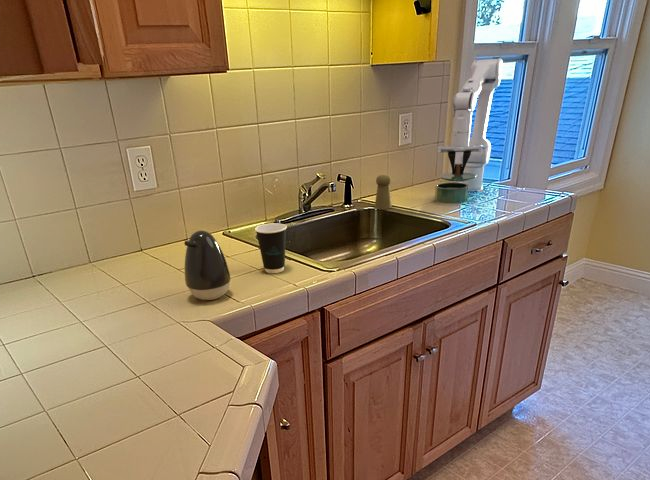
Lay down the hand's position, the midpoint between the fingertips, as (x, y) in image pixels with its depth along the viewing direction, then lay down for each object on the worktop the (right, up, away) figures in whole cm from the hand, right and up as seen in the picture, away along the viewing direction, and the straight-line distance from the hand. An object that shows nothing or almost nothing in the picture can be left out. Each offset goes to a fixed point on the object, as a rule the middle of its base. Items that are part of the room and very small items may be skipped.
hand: (457, 174), depth 176 cm
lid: (0, -1, +1) cm, 1 cm away
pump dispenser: (-76, -51, -61) cm, 110 cm away
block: (-1, -8, +5) cm, 9 cm away
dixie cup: (-62, -43, -47) cm, 89 cm away
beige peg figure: (-26, -11, +4) cm, 28 cm away
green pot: (-1, -8, +5) cm, 10 cm away
